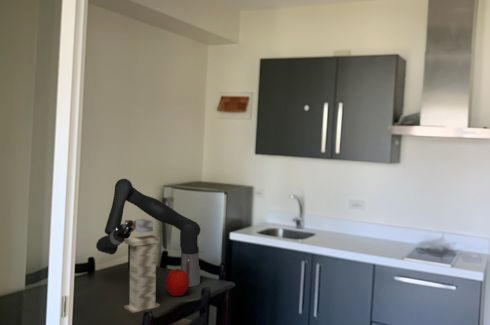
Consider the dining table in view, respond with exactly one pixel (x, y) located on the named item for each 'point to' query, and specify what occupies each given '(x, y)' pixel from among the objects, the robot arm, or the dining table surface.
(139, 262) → the birch plinth
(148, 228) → the mallet
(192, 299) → the dining table surface
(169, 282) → the tomato
